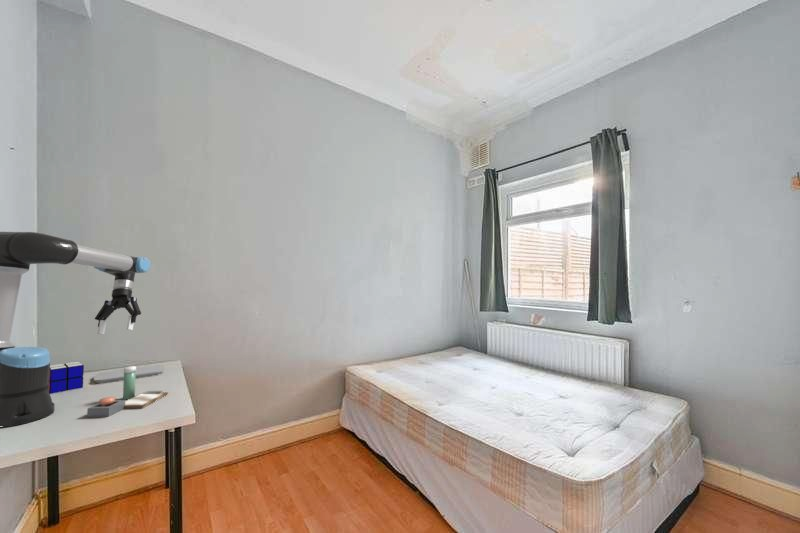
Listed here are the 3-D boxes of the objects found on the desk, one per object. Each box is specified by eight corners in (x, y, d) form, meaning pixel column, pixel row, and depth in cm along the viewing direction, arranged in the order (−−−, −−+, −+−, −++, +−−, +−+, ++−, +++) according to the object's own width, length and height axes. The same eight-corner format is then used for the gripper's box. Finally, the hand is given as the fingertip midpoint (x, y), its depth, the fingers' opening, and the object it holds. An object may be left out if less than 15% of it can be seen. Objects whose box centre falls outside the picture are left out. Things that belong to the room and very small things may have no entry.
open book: (142, 408, 116) (142, 403, 116) (113, 409, 116) (113, 404, 116) (167, 394, 130) (168, 390, 130) (142, 395, 130) (142, 390, 130)
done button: (108, 405, 111) (108, 400, 111) (96, 405, 111) (96, 401, 111) (117, 400, 115) (117, 396, 115) (105, 401, 115) (106, 396, 115)
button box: (108, 416, 109) (109, 407, 110) (87, 417, 109) (87, 408, 109) (124, 408, 116) (125, 400, 117) (104, 408, 116) (105, 400, 116)
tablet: (164, 375, 159) (164, 370, 159) (92, 386, 142) (93, 380, 142) (162, 368, 172) (162, 363, 172) (96, 377, 155) (96, 372, 155)
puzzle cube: (49, 394, 131) (50, 369, 132) (46, 389, 137) (47, 365, 138) (83, 387, 139) (84, 364, 140) (78, 383, 145) (79, 361, 146)
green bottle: (130, 399, 125) (131, 368, 125) (119, 400, 125) (121, 368, 125) (137, 396, 129) (138, 365, 129) (127, 396, 128) (128, 366, 129)
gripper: (153, 288, 164) (147, 329, 157) (104, 295, 163) (95, 336, 156) (142, 284, 157) (135, 326, 150) (90, 291, 156) (81, 334, 149)
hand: (115, 331), depth 153 cm, fingers open, 13 cm apart
